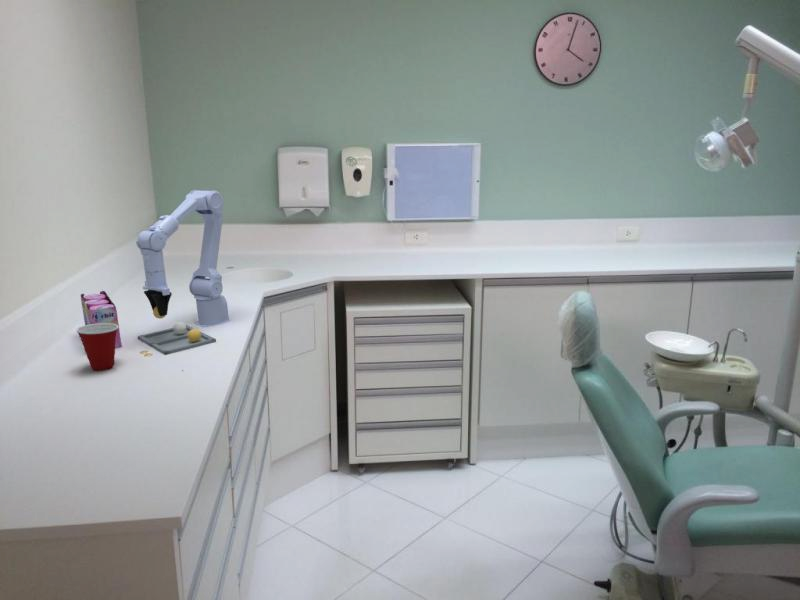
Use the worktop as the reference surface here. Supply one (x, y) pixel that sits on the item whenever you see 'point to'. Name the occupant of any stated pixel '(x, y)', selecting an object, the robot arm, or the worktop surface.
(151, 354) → the card
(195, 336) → the amber ball
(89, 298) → the gum box
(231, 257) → the worktop surface
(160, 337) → the sorting tray
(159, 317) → the amber ball
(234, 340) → the worktop surface
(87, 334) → the plastic cup
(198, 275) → the robot arm
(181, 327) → the ivory ball
